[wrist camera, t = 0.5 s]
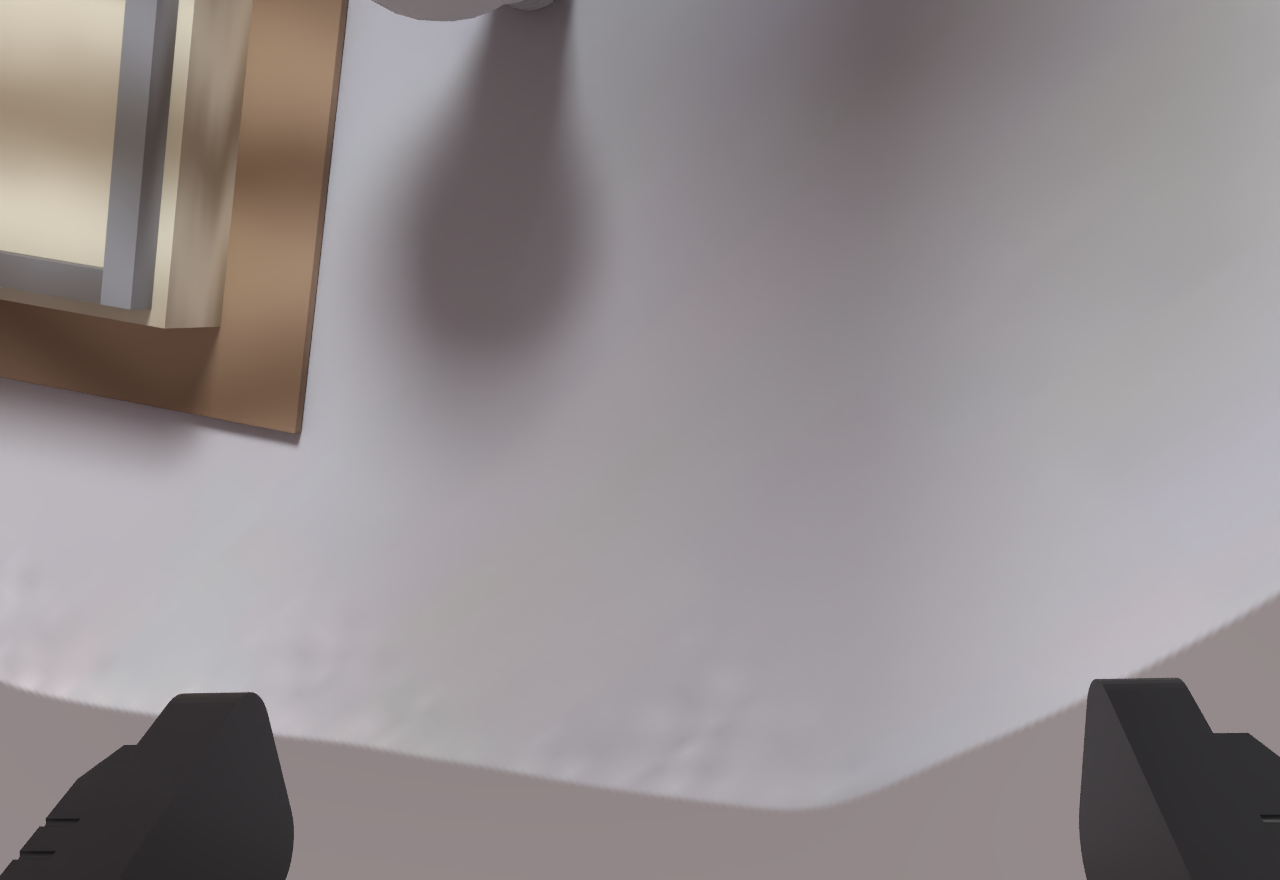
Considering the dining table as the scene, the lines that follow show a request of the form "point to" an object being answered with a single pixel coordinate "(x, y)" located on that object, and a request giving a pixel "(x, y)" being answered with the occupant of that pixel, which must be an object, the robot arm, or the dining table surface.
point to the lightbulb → (455, 7)
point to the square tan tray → (166, 198)
